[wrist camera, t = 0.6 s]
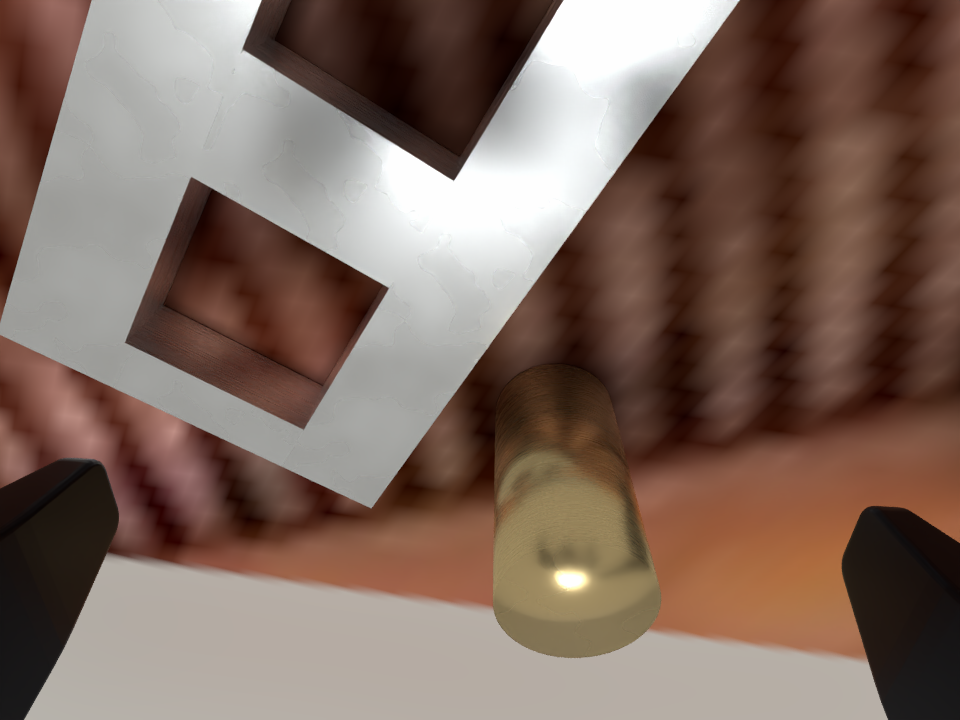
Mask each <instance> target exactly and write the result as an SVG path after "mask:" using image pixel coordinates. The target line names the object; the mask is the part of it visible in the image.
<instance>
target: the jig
mask: <svg viewBox="0 0 960 720" xmlns="http://www.w3.org/2000/svg"><path fill="white" fill-rule="evenodd" d="M290 2H291V0H92V2H91V5H90V9H89V12H88V16H87V19H86V23H85V26H84V30H83V33H82V37H81V40H80V44H79V47H78V51H77V54H76V58H75V61H74V65H73V69H72V72H71V76H70V79H69V83H68V86H67V90H66V93H65V97H64V100H63V104H62V107H61V111H60V114H59V118H58V121H57V125H56V128H55V132H54V135H53V139H52V142H51V146H50V150H49V153H48V157H47V160H46V164H45V167H44V171H43V174H42V178H41V181H40V185H39V188H38V192H37V195H36V199H35V202H34V206H33V209H32V213H31V216H30V220H29V224H28V227H27V231H26V234H25V238H24V241H23V245H22V248H21V252H20V255H19V259H18V262H17V266H16V269H15V273H14V276H13V280H12V283H11V287H10V290H9V294H8V297H7V301H6V305H5V308H4V312H3V315H2V319H1V322H0V335H2V336H4V337H6V338H8V339H10V340H12V341H15V342H17V343H19V344H21V345H23V346H25V347H27V348H30V349H32V350H34V351H36V352H38V353H40V354H42V355H44V356H47V357H49V358H51V359H53V360H55V361H57V362H59V363H62V364H64V365H66V366H68V367H70V368H72V369H74V370H77V371H79V372H81V373H83V374H85V375H87V376H89V377H92V378H94V379H96V380H98V381H100V382H102V383H104V384H107V385H109V386H111V387H113V388H115V389H117V390H119V391H121V392H124V393H126V394H128V395H130V396H132V397H134V398H136V399H139V400H141V401H143V402H145V403H147V404H149V405H151V406H154V407H156V408H158V409H160V410H162V411H164V412H166V413H169V414H171V415H173V416H175V417H177V418H179V419H181V420H183V421H186V422H188V423H190V424H192V425H194V426H196V427H198V428H201V429H203V430H205V431H207V432H209V433H211V434H213V435H216V436H218V437H220V438H222V439H224V440H226V441H228V442H231V443H233V444H235V445H237V446H239V447H241V448H243V449H245V450H248V451H250V452H252V453H254V454H256V455H258V456H260V457H263V458H265V459H267V460H269V461H271V462H273V463H275V464H278V465H280V466H282V467H284V468H286V469H288V470H290V471H293V472H295V473H297V474H299V475H301V476H303V477H305V478H308V479H310V480H312V481H314V482H316V483H318V484H320V485H322V486H325V487H327V488H329V489H331V490H333V491H335V492H337V493H340V494H342V495H344V496H346V497H348V498H350V499H352V500H355V501H357V502H359V503H361V504H363V505H365V506H367V507H370V508H372V507H373V505H374V504H375V502H376V501H377V500H378V498H379V497H380V496H381V494H382V493H383V491H384V490H385V489H386V487H387V486H388V484H389V483H390V482H391V480H392V479H393V478H394V476H395V475H396V473H397V472H398V471H399V469H400V468H401V467H402V465H403V464H404V462H405V461H406V460H407V458H408V457H409V456H410V454H411V453H412V451H413V450H414V449H415V447H416V446H417V444H418V443H419V442H420V440H421V439H422V438H423V436H424V435H425V433H426V432H427V431H428V429H429V428H430V427H431V425H432V424H433V422H434V421H435V420H436V418H437V417H438V416H439V414H440V413H441V411H442V410H443V409H444V407H445V406H446V404H447V403H448V402H449V400H450V399H451V398H452V396H453V395H454V393H455V392H456V391H457V389H458V388H459V387H460V385H461V384H462V382H463V381H464V380H465V378H466V377H467V376H468V374H469V373H470V371H471V370H472V369H473V367H474V366H475V364H476V363H477V362H478V360H479V359H480V358H481V356H482V355H483V353H484V352H485V351H486V349H487V348H488V347H489V345H490V344H491V342H492V341H493V340H494V338H495V337H496V336H497V334H498V333H499V331H500V330H501V329H502V327H503V326H504V324H505V323H506V322H507V320H508V319H509V318H510V316H511V315H512V313H513V312H514V311H515V309H516V308H517V307H518V305H519V304H520V302H521V301H522V300H523V298H524V297H525V296H526V294H527V293H528V291H529V290H530V289H531V287H532V286H533V284H534V283H535V282H536V280H537V279H538V278H539V276H540V275H541V273H542V272H543V271H544V269H545V268H546V267H547V265H548V264H549V262H550V261H551V260H552V258H553V257H554V256H555V254H556V253H557V251H558V250H559V249H560V247H561V246H562V244H563V243H564V242H565V240H566V239H567V238H568V236H569V235H570V233H571V232H572V231H573V229H574V228H575V227H576V225H577V224H578V222H579V221H580V220H581V218H582V217H583V216H584V214H585V213H586V211H587V210H588V209H589V207H590V206H591V204H592V203H593V202H594V200H595V199H596V198H597V196H598V195H599V193H600V192H601V191H602V189H603V188H604V187H605V185H606V184H607V182H608V181H609V180H610V178H611V177H612V176H613V174H614V173H615V171H616V170H617V169H618V167H619V166H620V164H621V163H622V162H623V160H624V159H625V158H626V156H627V155H628V153H629V152H630V151H631V149H632V148H633V147H634V145H635V144H636V142H637V141H638V140H639V138H640V137H641V136H642V134H643V133H644V131H645V130H646V129H647V127H648V126H649V124H650V123H651V122H652V120H653V119H654V118H655V116H656V115H657V113H658V112H659V111H660V109H661V108H662V107H663V105H664V104H665V102H666V101H667V100H668V98H669V97H670V96H671V94H672V93H673V91H674V90H675V89H676V87H677V86H678V84H679V83H680V82H681V80H682V79H683V78H684V76H685V75H686V73H687V72H688V71H689V69H690V68H691V67H692V65H693V64H694V62H695V61H696V60H697V58H698V57H699V56H700V54H701V53H702V51H703V50H704V49H705V47H706V46H707V44H708V43H709V42H710V40H711V39H712V38H713V36H714V35H715V33H716V32H717V31H718V29H719V28H720V27H721V25H722V24H723V22H724V21H725V20H726V18H727V17H728V16H729V14H730V13H731V11H732V10H733V9H734V7H735V6H736V4H737V3H738V2H739V0H554V1H553V2H552V4H551V6H550V7H549V9H548V11H547V12H546V14H545V16H544V17H543V19H542V21H541V22H540V24H539V26H538V27H537V29H536V31H535V32H534V34H533V36H532V37H531V39H530V41H529V42H528V44H527V46H526V47H525V49H524V51H523V52H522V54H521V56H520V57H519V59H518V61H517V62H516V64H515V66H514V67H513V69H512V71H511V72H510V74H509V76H508V77H507V79H506V81H505V82H504V84H503V86H502V87H501V89H500V91H499V92H498V94H497V96H496V97H495V99H494V101H493V102H492V104H491V106H490V108H489V109H488V111H487V113H486V114H485V116H484V118H483V119H482V121H481V123H480V124H479V126H478V128H477V129H476V131H475V133H474V134H473V136H472V138H471V139H470V141H469V143H468V144H467V146H466V148H465V149H464V151H463V153H462V154H461V156H460V157H458V156H457V155H455V154H453V153H452V152H450V151H449V150H447V149H446V148H444V147H442V146H441V145H439V144H438V143H436V142H434V141H433V140H431V139H430V138H428V137H427V136H425V135H423V134H422V133H420V132H419V131H417V130H416V129H414V128H412V127H411V126H409V125H408V124H406V123H405V122H403V121H401V120H400V119H398V118H397V117H395V116H394V115H392V114H390V113H389V112H387V111H386V110H384V109H383V108H381V107H379V106H378V105H376V104H375V103H373V102H372V101H370V100H368V99H367V98H365V97H364V96H362V95H360V94H359V93H357V92H356V91H354V90H353V89H351V88H349V87H348V86H346V85H345V84H343V83H342V82H340V81H338V80H337V79H335V78H334V77H332V76H331V75H329V74H327V73H326V72H324V71H323V70H321V69H320V68H318V67H316V66H315V65H313V64H312V63H310V62H309V61H307V60H305V59H304V58H302V57H301V56H299V55H297V54H296V53H294V52H293V51H291V50H290V49H288V48H286V47H285V46H283V45H282V44H280V43H279V42H277V41H275V38H276V35H277V33H278V30H279V28H280V26H281V23H282V21H283V18H284V16H285V14H286V11H287V9H288V7H289V4H290ZM212 189H214V190H216V191H218V192H220V193H221V194H223V195H225V196H227V197H228V198H230V199H232V200H234V201H236V202H237V203H239V204H241V205H243V206H244V207H246V208H248V209H250V210H252V211H253V212H255V213H257V214H259V215H260V216H262V217H264V218H266V219H268V220H269V221H271V222H273V223H275V224H276V225H278V226H280V227H282V228H284V229H285V230H287V231H289V232H291V233H292V234H294V235H296V236H298V237H300V238H301V239H303V240H305V241H307V242H308V243H310V244H312V245H314V246H316V247H317V248H319V249H321V250H323V251H324V252H326V253H328V254H330V255H332V256H333V257H335V258H337V259H339V260H340V261H342V262H344V263H346V264H348V265H349V266H351V267H353V268H355V269H356V270H358V271H360V272H362V273H364V274H365V275H367V276H369V277H371V278H372V279H374V280H376V281H378V282H380V283H381V284H383V286H382V288H381V290H380V291H379V293H378V295H377V296H376V298H375V300H374V301H373V303H372V305H371V306H370V308H369V310H368V311H367V313H366V315H365V316H364V318H363V320H362V321H361V323H360V325H359V326H358V328H357V330H356V331H355V333H354V335H353V336H352V338H351V340H350V341H349V343H348V345H347V346H346V348H345V350H344V351H343V353H342V355H341V356H340V358H339V360H338V362H337V363H336V365H335V367H334V368H333V370H332V372H331V373H330V375H329V377H328V378H327V380H326V382H325V383H324V385H323V386H321V385H319V384H317V383H315V382H313V381H311V380H309V379H307V378H306V377H304V376H302V375H300V374H298V373H296V372H294V371H292V370H290V369H288V368H286V367H284V366H282V365H280V364H278V363H276V362H274V361H272V360H270V359H268V358H266V357H264V356H262V355H260V354H258V353H256V352H254V351H252V350H250V349H248V348H246V347H244V346H243V345H241V344H239V343H237V342H235V341H233V340H231V339H229V338H227V337H225V336H223V335H221V334H219V333H217V332H215V331H213V330H211V329H209V328H207V327H205V326H203V325H201V324H199V323H197V322H195V321H193V320H191V319H189V318H187V317H185V316H183V315H181V314H179V313H178V312H176V311H174V310H172V309H170V308H168V307H166V306H164V305H163V304H164V302H165V300H166V297H167V295H168V293H169V290H170V288H171V285H172V283H173V281H174V278H175V276H176V273H177V271H178V269H179V266H180V264H181V262H182V259H183V257H184V254H185V252H186V250H187V247H188V245H189V242H190V240H191V238H192V235H193V233H194V231H195V228H196V226H197V223H198V221H199V219H200V216H201V214H202V212H203V209H204V207H205V204H206V202H207V200H208V197H209V195H210V192H211V190H212Z"/></svg>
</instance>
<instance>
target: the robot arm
mask: <svg viewBox="0 0 960 720" xmlns="http://www.w3.org/2000/svg"><path fill="white" fill-rule="evenodd" d="M118 522H119V512H118V507H117V504H116V501H115V498H114V494H113V491H112V488H111V485H110V482H109V478H108V475H107V472H106V469H105V467H104V465H103V464H102V463H101V462H100V461H97V460H94V459H82V458H63V459H60V460H57V461H55V462H53V463H51V464H49V465H47V466H45V467H43V468H41V469H39V470H37V471H35V472H33V473H31V474H29V475H27V476H25V477H23V478H21V479H19V480H17V481H15V482H13V483H11V484H8V485H6V486H4V487H2V488H0V720H24V719H25V717H26V715H27V714H28V712H29V710H30V708H31V706H32V705H33V703H34V701H35V699H36V698H37V696H38V694H39V692H40V691H41V689H42V687H43V685H44V683H45V682H46V680H47V678H48V676H49V675H50V673H51V671H52V669H53V668H54V666H55V664H56V662H57V660H58V658H59V656H60V655H61V653H62V651H63V649H64V647H65V645H66V643H67V641H68V639H69V637H70V634H71V632H72V630H73V628H74V626H75V624H76V622H77V619H78V617H79V615H80V612H81V610H82V608H83V606H84V603H85V601H86V599H87V596H88V594H89V592H90V590H91V588H92V585H93V583H94V581H95V578H96V576H97V574H98V572H99V569H100V567H101V565H102V563H103V560H104V558H105V556H106V554H107V551H108V549H109V547H110V545H111V542H112V540H113V538H114V536H115V533H116V530H117V527H118ZM842 575H843V579H844V582H845V586H846V589H847V592H848V596H849V599H850V602H851V605H852V609H853V612H854V615H855V619H856V622H857V625H858V629H859V632H860V635H861V639H862V642H863V645H864V649H865V652H866V655H867V659H868V662H869V665H870V668H871V671H872V675H873V679H874V682H875V685H876V687H877V691H878V694H879V697H880V700H881V703H882V705H883V708H884V711H885V713H886V716H887V718H888V720H960V543H959V542H957V541H956V540H954V539H952V538H951V537H949V536H948V535H946V534H945V533H943V532H942V531H940V530H939V529H937V528H936V527H934V526H932V525H931V524H929V523H928V522H926V521H925V520H923V519H922V518H920V517H919V516H917V515H916V514H914V513H913V512H911V511H909V510H907V509H904V508H899V507H883V506H871V507H867V508H866V509H865V510H864V511H863V512H862V513H861V515H860V517H859V519H858V521H857V524H856V526H855V528H854V531H853V533H852V535H851V538H850V540H849V543H848V545H847V547H846V550H845V552H844V555H843V559H842Z"/></svg>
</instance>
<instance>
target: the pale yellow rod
mask: <svg viewBox="0 0 960 720" xmlns="http://www.w3.org/2000/svg"><path fill="white" fill-rule="evenodd" d="M660 605H661V592H660V588H659V584H658V580H657V576H656V572H655V568H654V564H653V560H652V556H651V553H650V549H649V545H648V541H647V537H646V533H645V529H644V526H643V522H642V518H641V514H640V510H639V506H638V502H637V499H636V495H635V491H634V487H633V483H632V479H631V475H630V472H629V468H628V464H627V460H626V456H625V452H624V448H623V444H622V441H621V437H620V433H619V429H618V425H617V421H616V417H615V414H614V410H613V406H612V402H611V398H610V396H609V393H608V391H607V389H606V388H605V386H604V385H603V384H602V383H601V381H600V380H598V379H597V378H596V377H595V376H594V375H592V374H591V373H589V372H587V371H585V370H583V369H581V368H578V367H575V366H571V365H566V364H546V365H541V366H537V367H533V368H531V369H528V370H526V371H524V372H522V373H520V374H519V375H517V376H516V377H515V378H513V379H512V380H511V381H510V382H509V383H508V384H507V385H506V386H505V388H504V389H503V391H502V392H501V394H500V396H499V398H498V401H497V405H496V411H495V487H494V566H493V609H494V613H495V616H496V619H497V621H498V623H499V625H500V626H501V628H502V629H503V630H504V631H505V632H506V634H507V635H509V636H510V637H511V638H512V639H513V640H515V641H516V642H518V643H519V644H521V645H522V646H524V647H526V648H528V649H531V650H533V651H536V652H538V653H542V654H546V655H550V656H556V657H565V658H581V657H592V656H598V655H602V654H606V653H610V652H612V651H615V650H618V649H620V648H622V647H624V646H626V645H628V644H630V643H632V642H633V641H635V640H636V639H638V638H639V637H640V636H642V635H643V634H644V633H645V632H646V631H647V630H648V629H649V628H650V626H651V625H652V624H653V622H654V621H655V619H656V617H657V615H658V612H659V609H660Z"/></svg>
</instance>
